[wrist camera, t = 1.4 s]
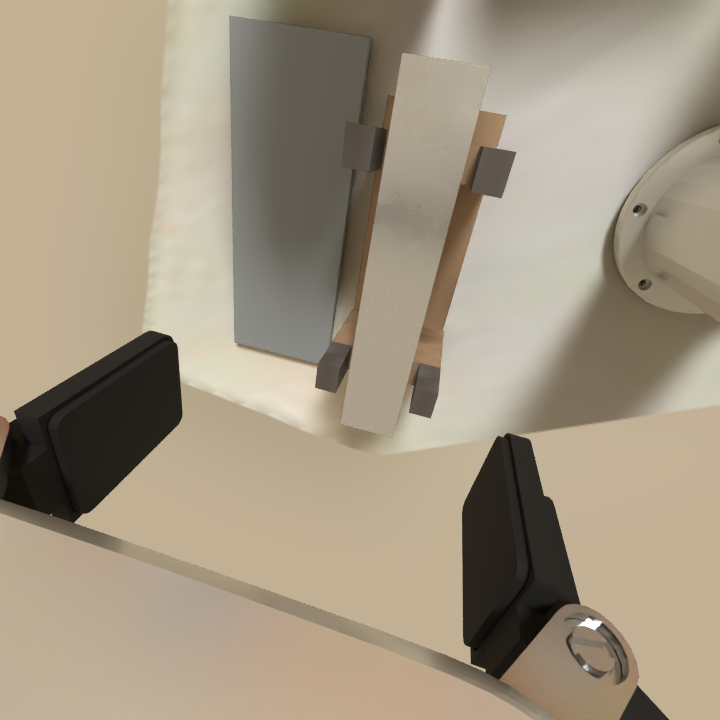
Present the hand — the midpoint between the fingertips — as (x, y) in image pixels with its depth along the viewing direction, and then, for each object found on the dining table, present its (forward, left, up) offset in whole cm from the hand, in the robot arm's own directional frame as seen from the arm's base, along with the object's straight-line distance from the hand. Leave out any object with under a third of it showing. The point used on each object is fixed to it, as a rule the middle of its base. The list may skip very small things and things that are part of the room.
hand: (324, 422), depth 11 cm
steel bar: (0, +1, -16) cm, 17 cm away
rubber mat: (+11, +1, -24) cm, 27 cm away
